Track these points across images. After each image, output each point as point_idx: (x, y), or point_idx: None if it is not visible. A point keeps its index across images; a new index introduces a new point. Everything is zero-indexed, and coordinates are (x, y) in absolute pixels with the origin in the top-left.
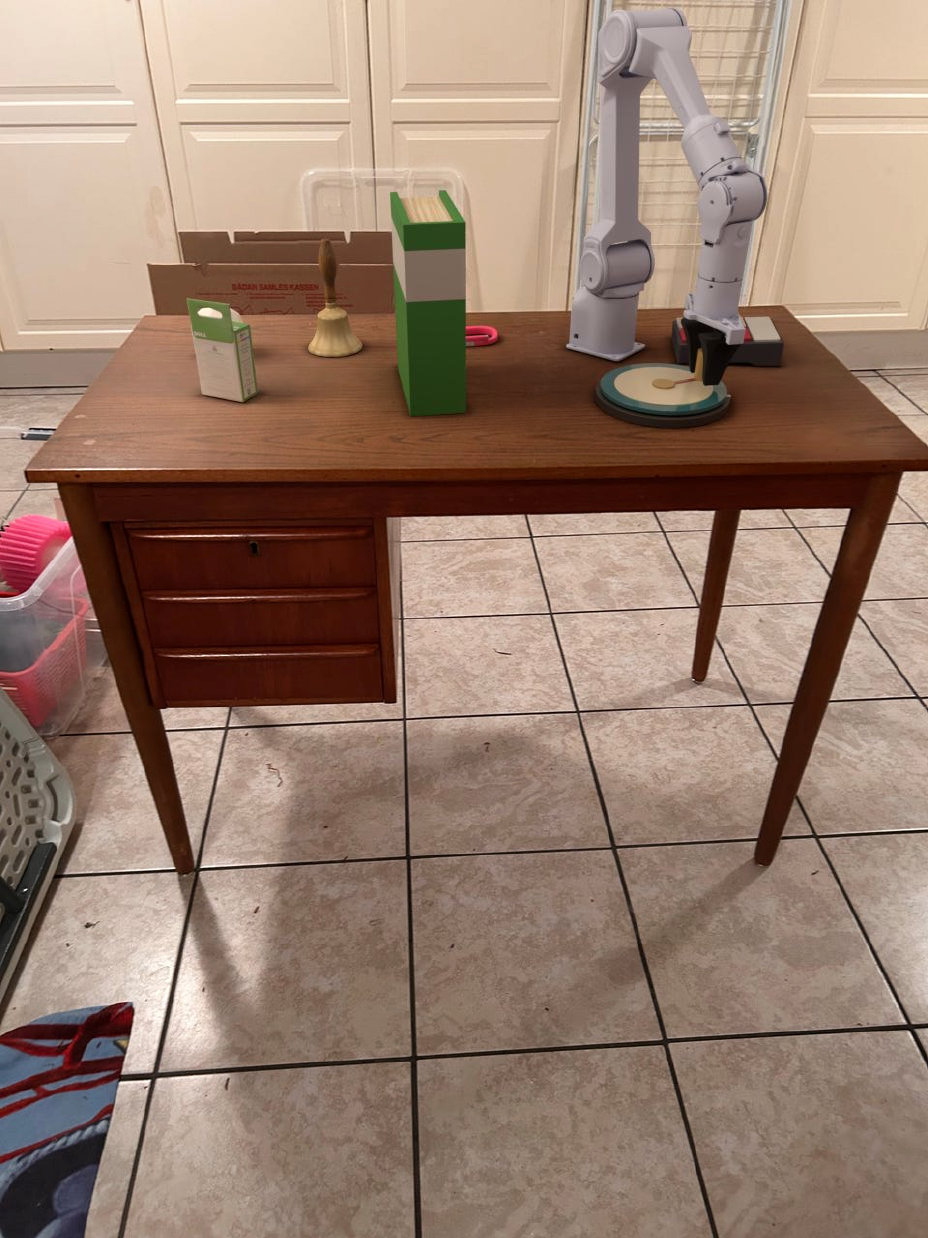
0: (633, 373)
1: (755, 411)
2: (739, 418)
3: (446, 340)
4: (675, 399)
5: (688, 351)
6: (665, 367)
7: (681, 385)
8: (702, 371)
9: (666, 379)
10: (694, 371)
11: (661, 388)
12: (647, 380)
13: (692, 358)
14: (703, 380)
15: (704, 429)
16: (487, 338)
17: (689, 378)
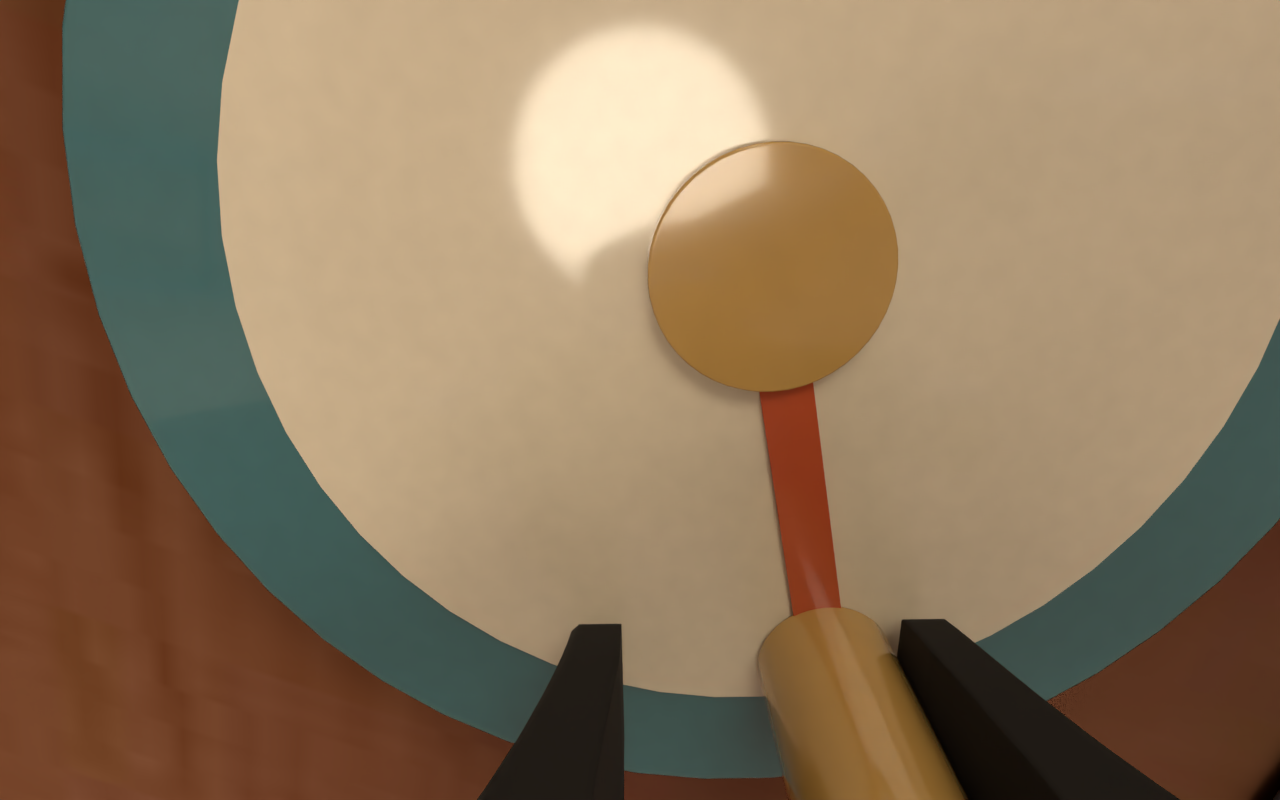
0: (1207, 37)
1: (429, 794)
2: (321, 674)
3: None
4: (361, 256)
5: (1078, 744)
6: (1199, 455)
7: (709, 443)
8: (607, 694)
9: (857, 339)
10: (905, 650)
11: (665, 207)
12: (943, 134)
13: (968, 720)
14: (589, 643)
15: (118, 381)
16: None
17: (858, 570)
